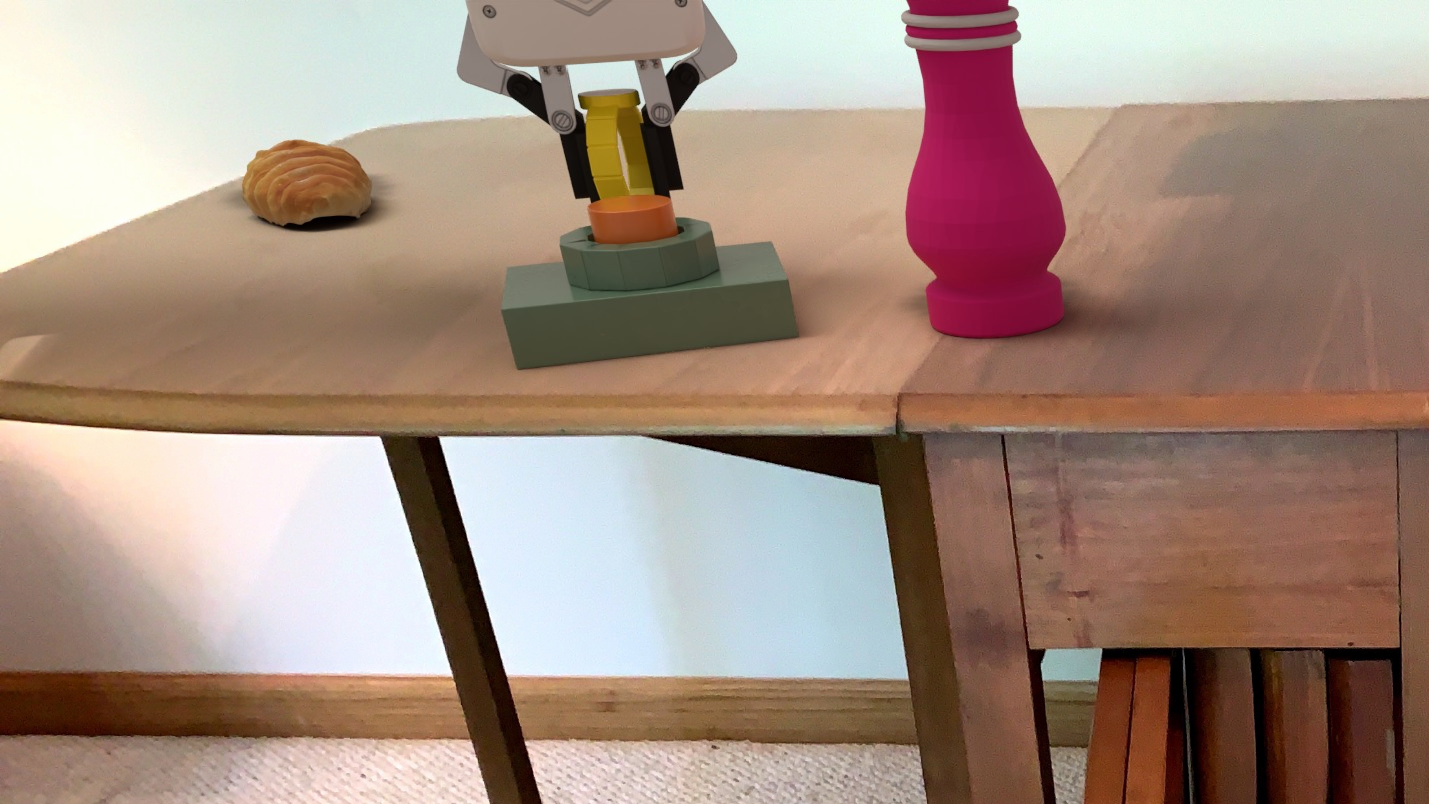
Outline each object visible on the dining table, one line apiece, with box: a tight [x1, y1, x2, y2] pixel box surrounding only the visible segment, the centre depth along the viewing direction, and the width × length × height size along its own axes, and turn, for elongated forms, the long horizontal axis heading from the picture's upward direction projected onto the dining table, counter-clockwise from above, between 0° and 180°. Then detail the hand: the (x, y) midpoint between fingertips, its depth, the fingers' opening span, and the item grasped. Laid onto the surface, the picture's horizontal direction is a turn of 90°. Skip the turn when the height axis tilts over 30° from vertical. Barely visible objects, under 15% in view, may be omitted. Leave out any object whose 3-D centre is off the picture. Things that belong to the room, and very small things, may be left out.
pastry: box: [241, 139, 373, 227], centre depth 101 cm, size 9×7×4 cm
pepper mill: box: [900, 0, 1067, 339], centre depth 75 cm, size 7×7×20 cm
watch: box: [577, 88, 655, 200], centre depth 84 cm, size 6×3×6 cm, turn 6°
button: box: [586, 195, 679, 244], centre depth 77 cm, size 4×4×2 cm
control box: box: [500, 216, 800, 371], centre depth 79 cm, size 12×8×4 cm, turn 112°
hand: (633, 206), depth 85 cm, fingers closed on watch, 2 cm apart
